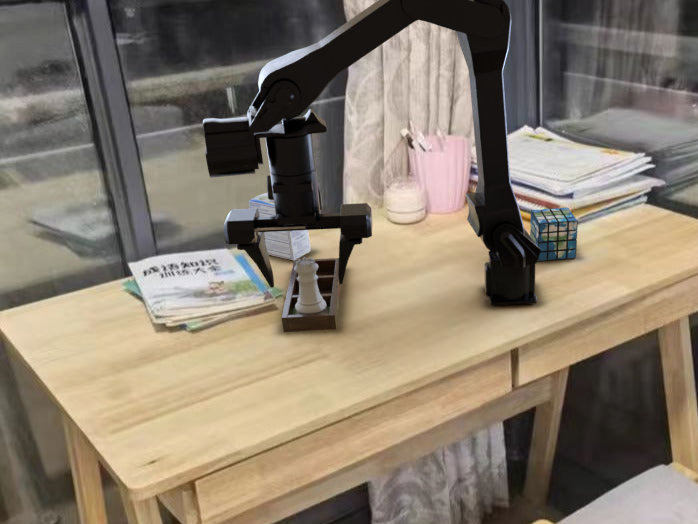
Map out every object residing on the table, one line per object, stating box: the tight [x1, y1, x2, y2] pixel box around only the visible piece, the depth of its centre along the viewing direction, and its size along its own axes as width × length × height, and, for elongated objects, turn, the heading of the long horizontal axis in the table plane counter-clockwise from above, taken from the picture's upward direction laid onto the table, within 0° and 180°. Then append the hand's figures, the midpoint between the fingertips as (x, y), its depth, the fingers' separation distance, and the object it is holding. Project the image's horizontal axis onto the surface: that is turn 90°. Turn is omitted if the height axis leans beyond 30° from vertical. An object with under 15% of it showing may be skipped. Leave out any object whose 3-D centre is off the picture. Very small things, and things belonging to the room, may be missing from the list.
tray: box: [281, 257, 342, 333], centre depth 134 cm, size 7×20×2 cm, turn 3°
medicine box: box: [248, 192, 312, 261], centre depth 148 cm, size 8×4×9 cm, turn 58°
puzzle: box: [529, 207, 579, 262], centre depth 145 cm, size 6×6×6 cm
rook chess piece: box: [294, 256, 328, 315], centre depth 127 cm, size 4×4×8 cm
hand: (306, 284), depth 127 cm, fingers open, 9 cm apart
